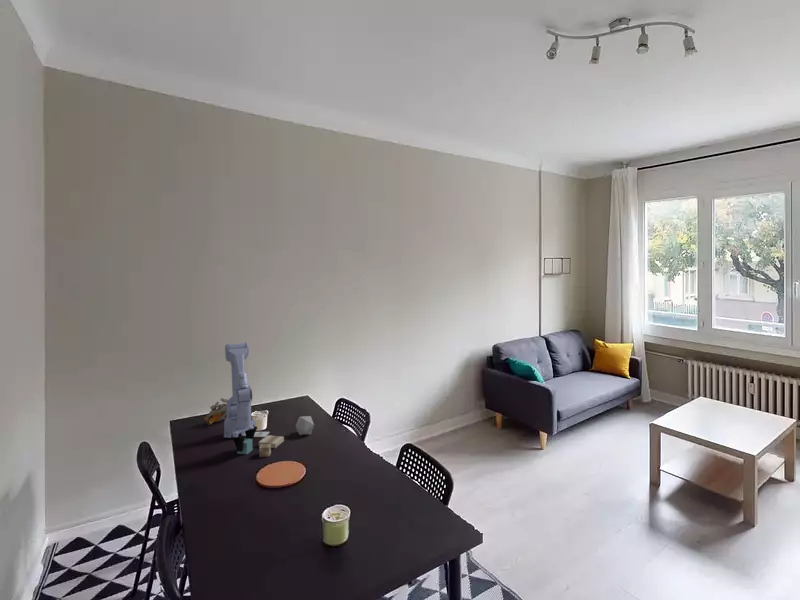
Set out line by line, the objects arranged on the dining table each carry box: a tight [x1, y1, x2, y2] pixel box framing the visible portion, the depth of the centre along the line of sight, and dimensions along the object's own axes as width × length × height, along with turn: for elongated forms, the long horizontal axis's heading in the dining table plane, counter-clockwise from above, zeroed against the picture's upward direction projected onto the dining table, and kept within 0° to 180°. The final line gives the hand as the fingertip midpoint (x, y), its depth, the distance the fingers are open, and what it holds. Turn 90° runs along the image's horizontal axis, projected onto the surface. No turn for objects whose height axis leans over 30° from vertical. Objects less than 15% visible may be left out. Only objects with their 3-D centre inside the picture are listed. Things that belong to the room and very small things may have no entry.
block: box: [258, 443, 272, 458], centre depth 178 cm, size 4×4×4 cm
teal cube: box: [236, 437, 254, 455], centre depth 181 cm, size 4×4×5 cm
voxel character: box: [203, 398, 233, 426], centre depth 215 cm, size 11×10×15 cm
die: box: [295, 415, 315, 436], centre depth 201 cm, size 8×9×10 cm
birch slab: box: [258, 434, 285, 449], centre depth 189 cm, size 8×8×2 cm
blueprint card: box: [254, 431, 270, 438], centre depth 200 cm, size 8×6×1 cm
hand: (244, 447), depth 181 cm, fingers open, 7 cm apart
